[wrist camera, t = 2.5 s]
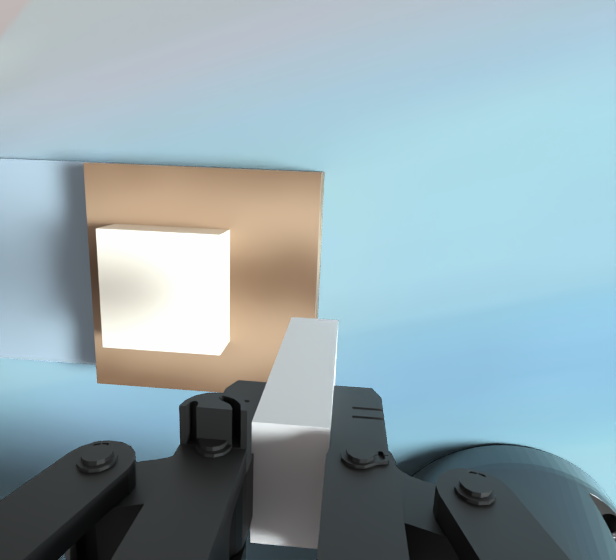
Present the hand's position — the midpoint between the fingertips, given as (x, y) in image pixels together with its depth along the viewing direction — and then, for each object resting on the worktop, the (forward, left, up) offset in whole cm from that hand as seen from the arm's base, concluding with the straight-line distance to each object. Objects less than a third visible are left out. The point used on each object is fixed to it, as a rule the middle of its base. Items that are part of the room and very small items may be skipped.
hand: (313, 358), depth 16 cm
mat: (0, +18, -13) cm, 22 cm away
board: (0, +7, -13) cm, 14 cm away
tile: (0, +8, -10) cm, 13 cm away
